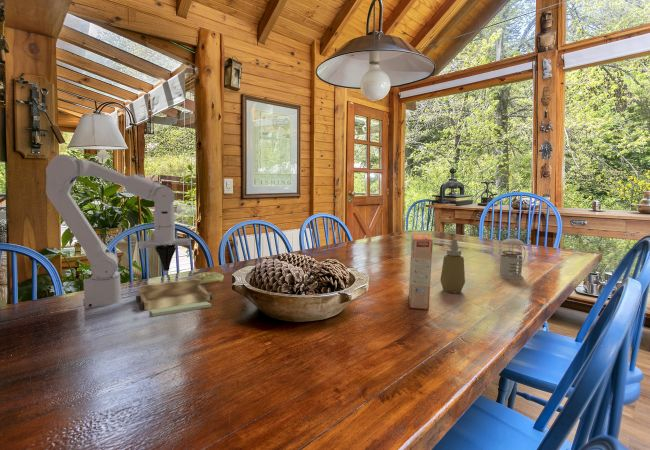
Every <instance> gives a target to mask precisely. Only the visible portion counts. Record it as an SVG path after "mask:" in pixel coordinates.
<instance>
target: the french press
mask: <svg viewBox="0 0 650 450" xmlns="http://www.w3.org/2000/svg"><path fill="white" fill-rule="evenodd" d="M511 217H512V218H513V221H515V220H516V219H515V218H517V217H518V215H517V214H516V213H513V214H512V215H511ZM512 228H513V229H512V235H514V232H515V224H513V227H512ZM501 244H504V245H509V246H511V250H503V251H501V253H502V254H501V255H500V259H499V260H500V265H499V273H497V274H496V276H497V277H498V276H499V278H501V279H506V280H523V279H524V278H525V277H524V276H523V275H522V268H523V262H524V261H525V258H526V254H524V256H522V255H523V251H522V249H524V252H526V249H525V246H524V245H525V243H524V242H523V241H522V240H520V239H518V238H514V237H512V238H506V239H503V240H502V241H501ZM513 246H516V248H517V249H518V250H520V251H515V250H513V248H514V247H513Z"/></svg>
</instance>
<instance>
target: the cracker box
mask: <svg viewBox="0 0 650 450" xmlns="http://www.w3.org/2000/svg"><path fill="white" fill-rule="evenodd" d="M410 241H411V243H410V262H409V263H410V264H409V265H410V266H409V283H408V284H409V285H408V301H409V308H410V309H416V310H429V309H430V294H431V278H432V277H431V276H432V261H433V260H432V259H433V242H434V239H433V238H432V236H431V235H430V233H423V232H422V233H421V232H417V233H416V232H413V233H411V240H410Z"/></svg>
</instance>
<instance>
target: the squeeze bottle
mask: <svg viewBox="0 0 650 450" xmlns="http://www.w3.org/2000/svg"><path fill="white" fill-rule="evenodd" d="M461 255H462V250H461V249H459V246H458V241H457V238H452V241H451V246H450V248H447V249H446V255H444V256H443V260H442V268H441V272H440V273H441V275H440V279H439V280H440V283H441V287H442V291H444V292H446V293H449V294H459V293H461V292H462V291H463V288H464V287H465V286H464V285H465V284H466V277H465V276H466V275H465V274H466V273H465V272H466V271H465V259H464V256H461Z"/></svg>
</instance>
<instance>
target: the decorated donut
mask: <svg viewBox="0 0 650 450" xmlns="http://www.w3.org/2000/svg"><path fill="white" fill-rule="evenodd" d="M224 277H225V276H224V275H223V274H222V273H220V272H216V271H207V272H199V273H197V274H194V276H192V279H200V285H209V284H217V283H222V282H224V279H225V278H224Z"/></svg>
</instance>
